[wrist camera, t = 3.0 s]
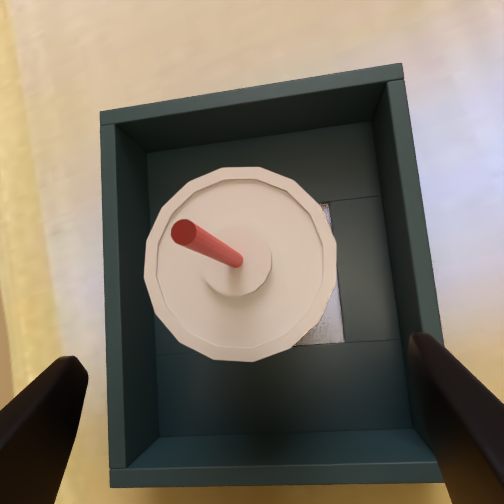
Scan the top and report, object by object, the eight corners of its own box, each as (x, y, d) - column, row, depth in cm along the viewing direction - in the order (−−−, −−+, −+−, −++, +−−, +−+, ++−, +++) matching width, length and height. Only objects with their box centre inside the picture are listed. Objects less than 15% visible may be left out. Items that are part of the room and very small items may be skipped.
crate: (430, 443, 18) (465, 483, 14) (148, 451, 20) (109, 488, 16) (383, 107, 20) (402, 61, 16) (135, 143, 22) (98, 110, 18)
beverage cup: (284, 201, 21) (239, 7, 7) (347, 295, 19) (444, 287, 6) (193, 260, 21) (-24, 187, 7) (249, 355, 20) (119, 487, 6)
